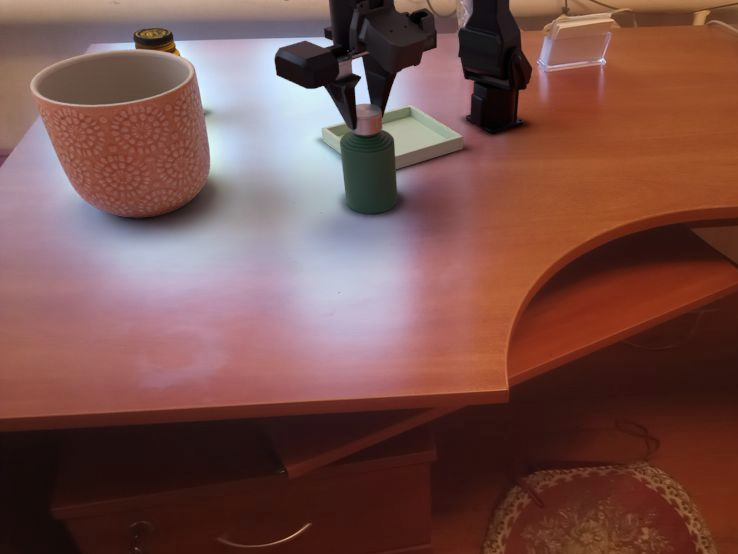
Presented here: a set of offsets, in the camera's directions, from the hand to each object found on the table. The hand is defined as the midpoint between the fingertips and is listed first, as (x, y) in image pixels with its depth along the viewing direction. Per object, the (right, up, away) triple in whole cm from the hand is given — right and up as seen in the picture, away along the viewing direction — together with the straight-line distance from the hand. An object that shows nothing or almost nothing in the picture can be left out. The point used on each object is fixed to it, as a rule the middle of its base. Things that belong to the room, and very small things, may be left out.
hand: (365, 123), depth 84 cm
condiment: (-33, +8, +24) cm, 41 cm away
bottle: (0, -8, +7) cm, 10 cm away
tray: (+1, +3, +19) cm, 19 cm away
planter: (-28, -7, +6) cm, 29 cm away
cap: (0, +1, -1) cm, 1 cm away
